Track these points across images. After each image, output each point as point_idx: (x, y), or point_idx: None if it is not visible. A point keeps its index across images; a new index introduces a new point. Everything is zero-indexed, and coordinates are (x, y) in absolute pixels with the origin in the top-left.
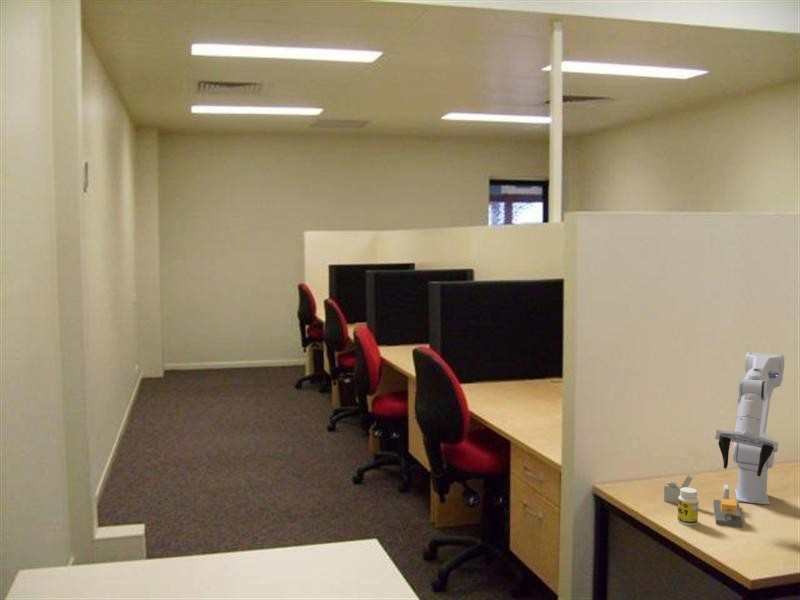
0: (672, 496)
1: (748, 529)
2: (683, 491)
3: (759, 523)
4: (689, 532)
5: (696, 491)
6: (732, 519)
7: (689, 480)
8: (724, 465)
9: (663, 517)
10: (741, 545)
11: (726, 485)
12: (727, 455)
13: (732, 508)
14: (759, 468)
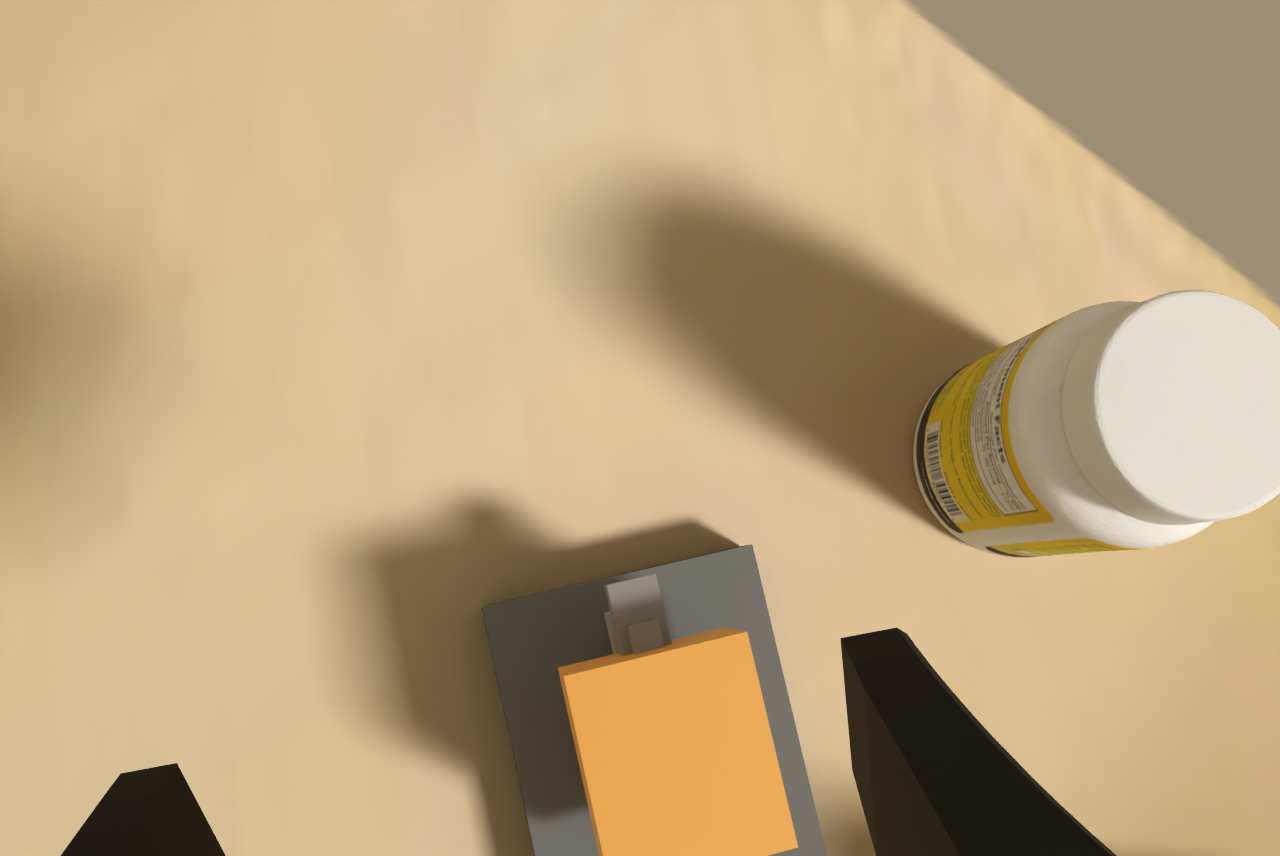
0: None
1: (416, 592)
2: (1243, 304)
3: (329, 853)
4: (918, 189)
5: (1097, 399)
6: (597, 657)
7: None
8: (904, 633)
9: None
10: (421, 117)
11: None
12: (951, 795)
13: (613, 661)
14: (124, 836)
